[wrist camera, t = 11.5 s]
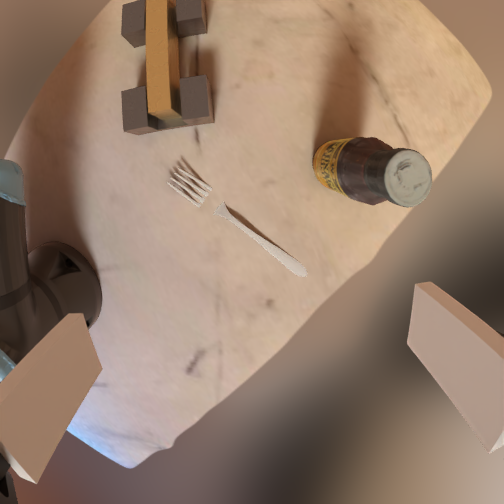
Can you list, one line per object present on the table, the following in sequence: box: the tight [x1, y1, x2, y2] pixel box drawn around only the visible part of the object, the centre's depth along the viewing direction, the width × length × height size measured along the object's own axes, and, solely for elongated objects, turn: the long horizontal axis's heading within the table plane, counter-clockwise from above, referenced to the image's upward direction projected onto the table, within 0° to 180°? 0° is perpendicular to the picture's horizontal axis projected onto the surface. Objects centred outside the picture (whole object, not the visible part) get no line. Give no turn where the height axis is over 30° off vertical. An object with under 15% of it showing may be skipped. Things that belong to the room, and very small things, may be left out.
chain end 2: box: [121, 75, 214, 135], centre depth 32 cm, size 10×5×5 cm, turn 95°
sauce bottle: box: [313, 137, 432, 207], centre depth 27 cm, size 7×6×20 cm
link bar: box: [146, 0, 182, 120], centre depth 29 cm, size 2×16×6 cm, turn 5°
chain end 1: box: [121, 0, 207, 48], centre depth 29 cm, size 10×5×5 cm, turn 95°
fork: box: [166, 167, 307, 277], centre depth 39 cm, size 3×24×2 cm, turn 52°
